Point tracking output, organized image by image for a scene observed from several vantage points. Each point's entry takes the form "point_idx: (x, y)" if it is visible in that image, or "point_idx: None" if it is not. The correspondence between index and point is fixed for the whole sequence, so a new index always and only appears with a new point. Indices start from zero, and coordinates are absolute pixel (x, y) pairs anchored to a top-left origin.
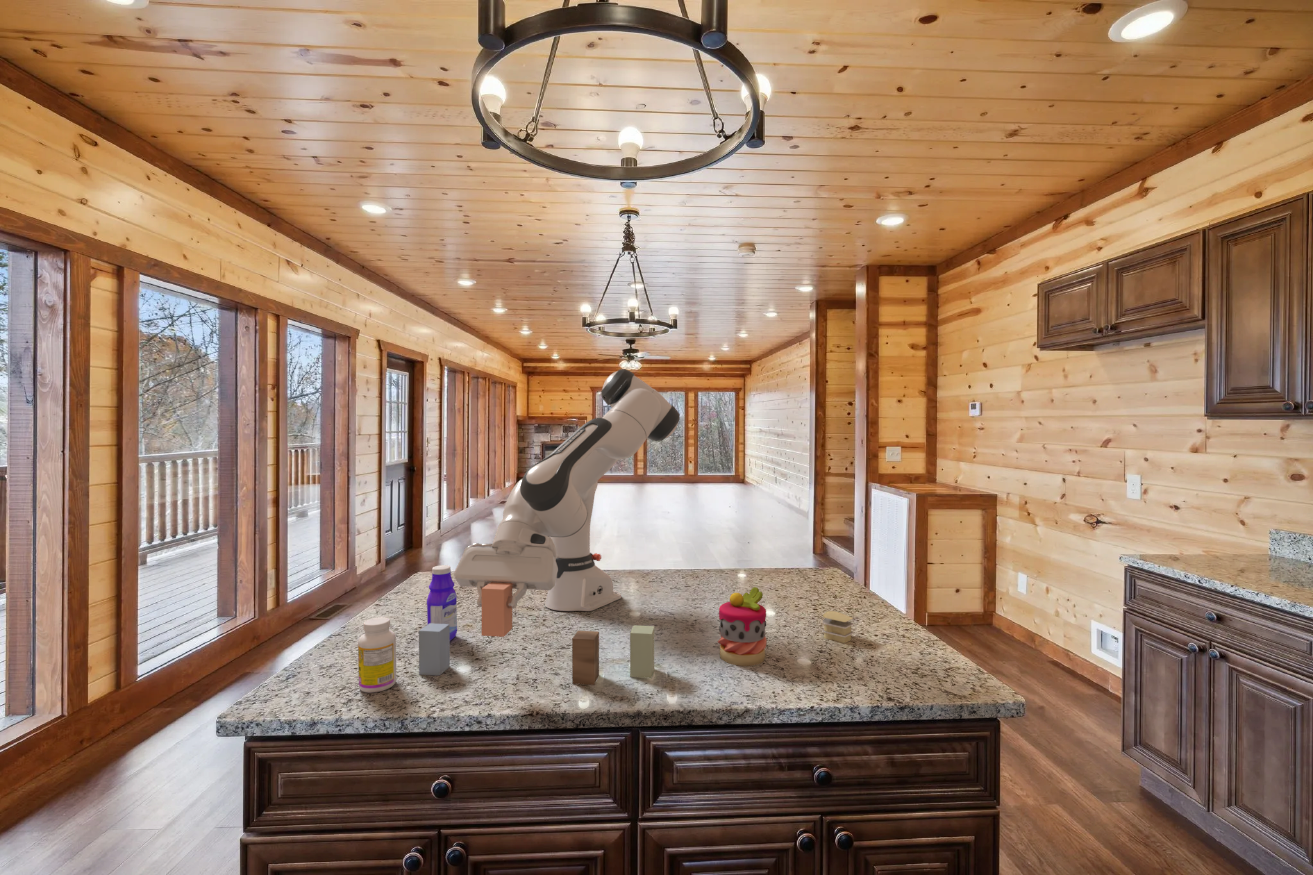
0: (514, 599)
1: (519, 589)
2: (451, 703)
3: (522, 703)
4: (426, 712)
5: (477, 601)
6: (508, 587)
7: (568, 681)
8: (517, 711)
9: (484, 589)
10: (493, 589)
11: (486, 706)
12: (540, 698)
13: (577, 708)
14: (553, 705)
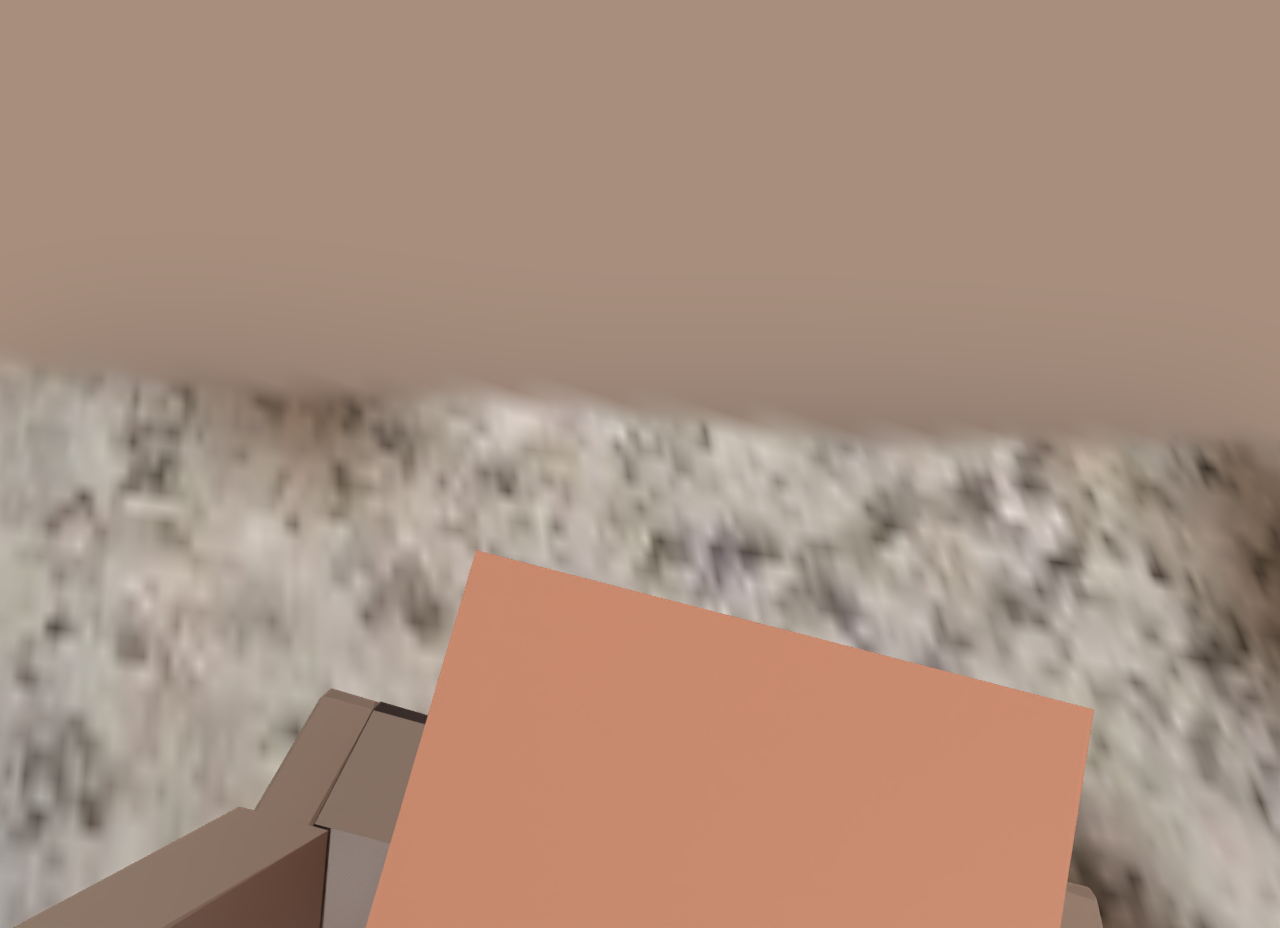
0: (290, 756)
1: (105, 923)
2: (939, 588)
3: (408, 519)
4: (1077, 474)
5: (1090, 893)
6: (383, 881)
7: (25, 872)
8: (437, 404)
9: (1003, 690)
10: (759, 628)
11: (670, 507)
12: (273, 582)
13: (4, 391)
14: (177, 458)
